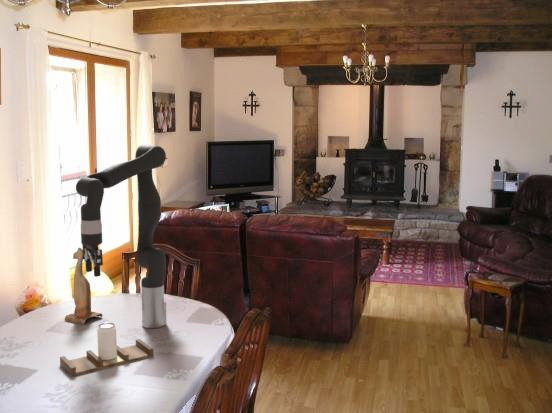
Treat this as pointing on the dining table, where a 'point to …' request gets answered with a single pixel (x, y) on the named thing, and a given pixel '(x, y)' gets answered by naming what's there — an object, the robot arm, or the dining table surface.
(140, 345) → the notch rack
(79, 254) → the bird sculpture
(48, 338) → the dining table surface
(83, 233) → the robot arm
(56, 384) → the dining table surface
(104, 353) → the can
